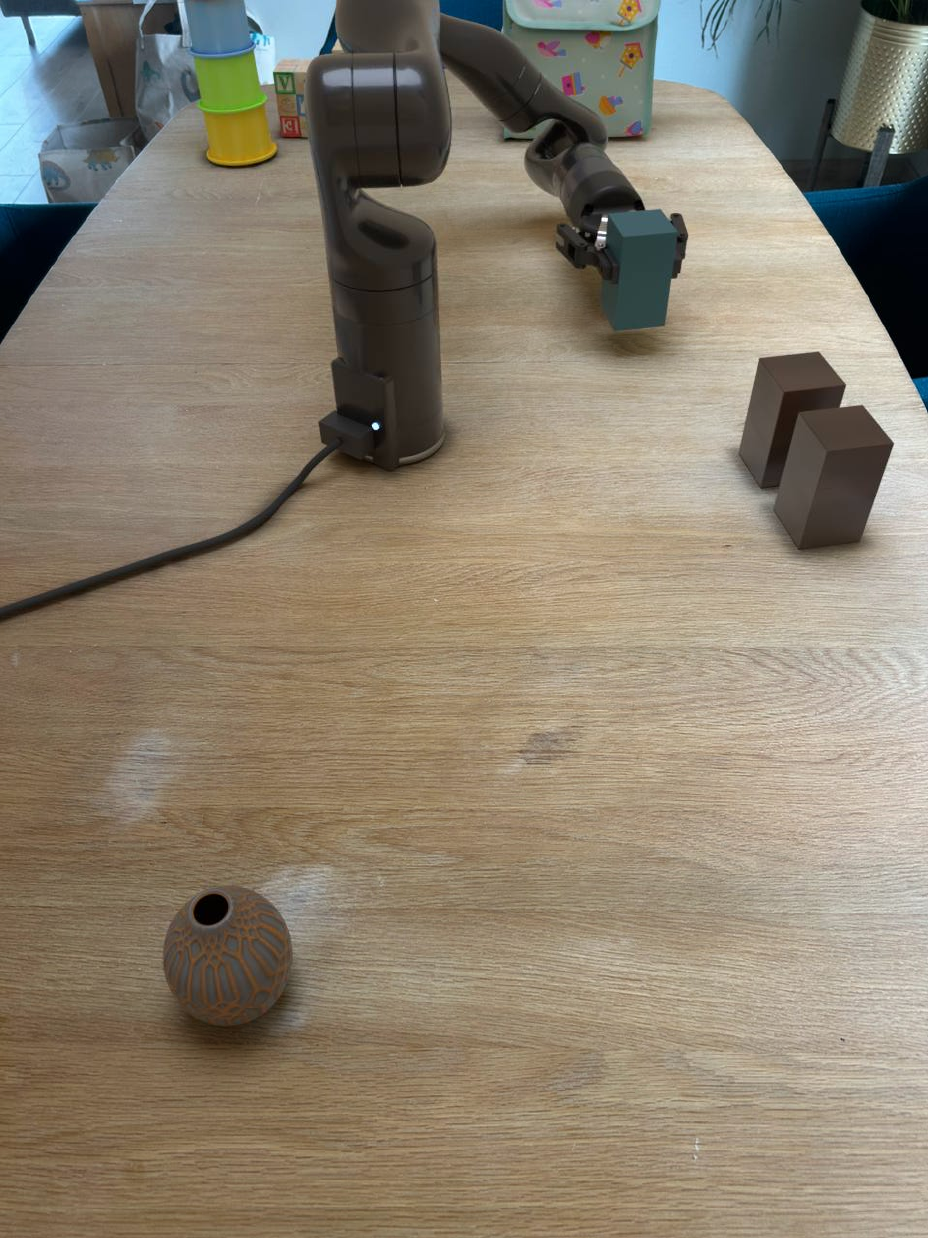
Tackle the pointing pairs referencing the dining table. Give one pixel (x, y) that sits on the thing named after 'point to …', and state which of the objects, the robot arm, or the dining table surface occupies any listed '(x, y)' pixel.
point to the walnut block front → (832, 476)
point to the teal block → (639, 269)
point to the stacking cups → (228, 82)
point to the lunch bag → (591, 55)
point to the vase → (227, 955)
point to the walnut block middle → (784, 409)
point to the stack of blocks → (293, 94)
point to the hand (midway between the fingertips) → (645, 272)
